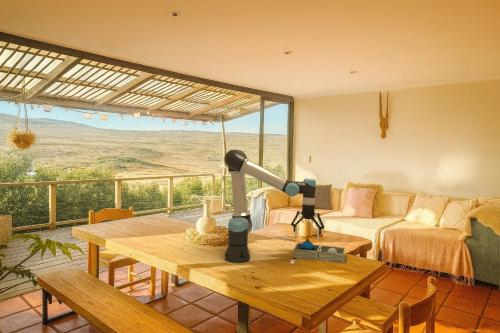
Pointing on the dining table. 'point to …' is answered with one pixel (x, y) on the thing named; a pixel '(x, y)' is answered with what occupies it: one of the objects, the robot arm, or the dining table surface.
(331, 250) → the ball
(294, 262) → the card
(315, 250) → the two-compartment wooden tray
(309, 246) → the ornament
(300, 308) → the dining table surface
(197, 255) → the dining table surface
